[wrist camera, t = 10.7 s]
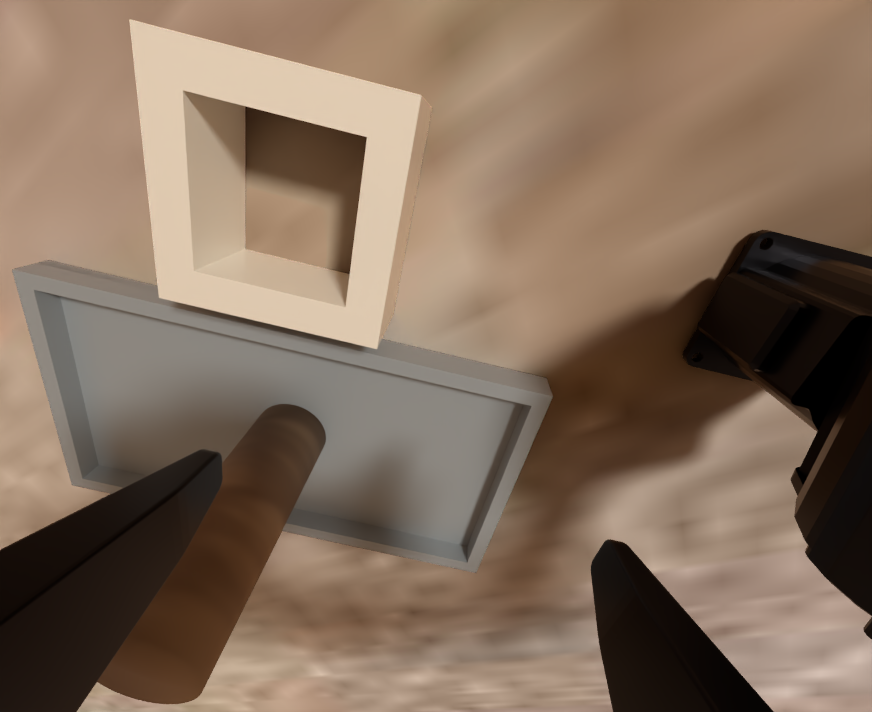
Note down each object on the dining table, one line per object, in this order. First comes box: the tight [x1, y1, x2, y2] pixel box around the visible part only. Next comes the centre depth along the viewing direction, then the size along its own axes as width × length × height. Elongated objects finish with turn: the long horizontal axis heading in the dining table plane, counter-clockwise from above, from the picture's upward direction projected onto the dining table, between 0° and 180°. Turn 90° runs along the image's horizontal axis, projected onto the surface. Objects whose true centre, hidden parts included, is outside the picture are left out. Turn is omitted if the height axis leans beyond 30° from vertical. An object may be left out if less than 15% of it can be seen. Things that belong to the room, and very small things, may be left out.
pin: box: [97, 404, 326, 704], centre depth 18 cm, size 4×4×12 cm
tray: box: [12, 260, 553, 573], centre depth 23 cm, size 26×14×2 cm, turn 77°
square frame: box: [129, 19, 432, 349], centre depth 16 cm, size 9×9×4 cm
